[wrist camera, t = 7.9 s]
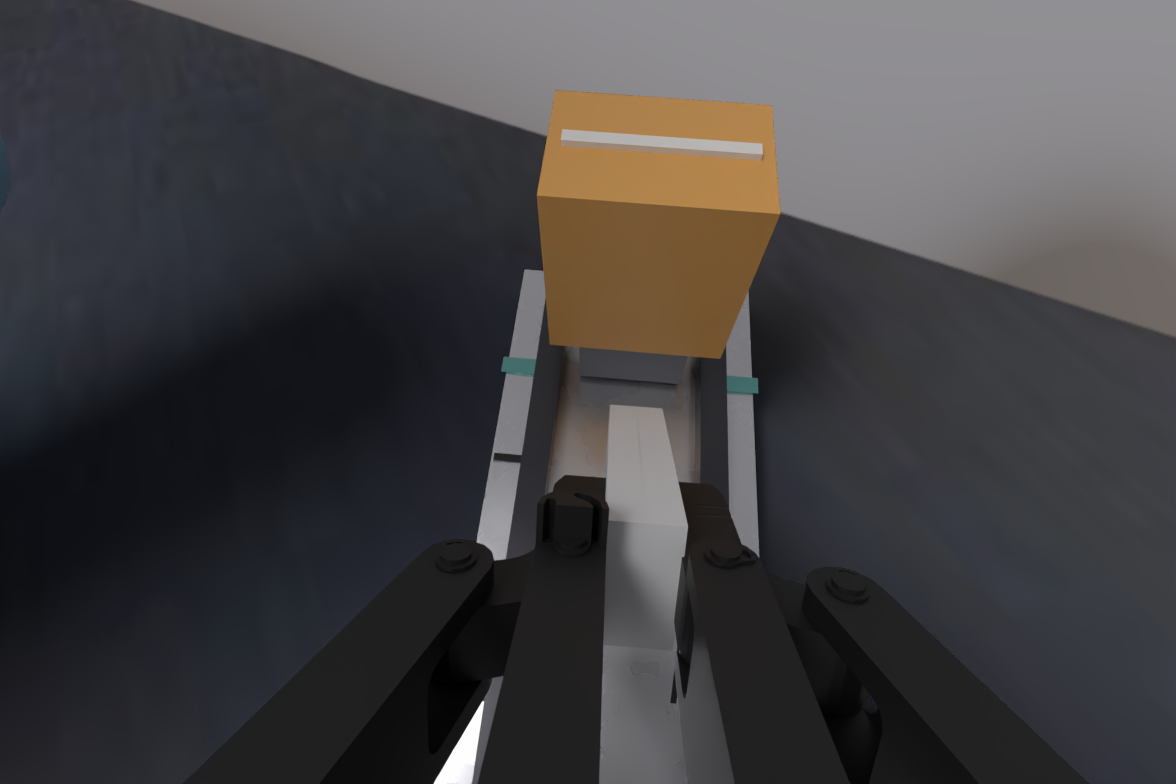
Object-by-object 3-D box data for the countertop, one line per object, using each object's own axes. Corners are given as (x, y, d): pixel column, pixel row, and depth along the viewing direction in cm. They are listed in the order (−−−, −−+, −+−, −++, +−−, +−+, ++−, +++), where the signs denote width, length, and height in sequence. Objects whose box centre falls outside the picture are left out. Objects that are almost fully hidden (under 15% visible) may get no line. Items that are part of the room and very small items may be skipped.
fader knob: (704, 397, 23) (782, 207, 14) (553, 384, 24) (536, 189, 14) (704, 313, 25) (774, 98, 16) (564, 302, 25) (555, 83, 16)
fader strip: (762, 923, 18) (802, 973, 15) (422, 884, 18) (387, 925, 15) (741, 308, 28) (762, 258, 25) (524, 290, 28) (517, 239, 25)
